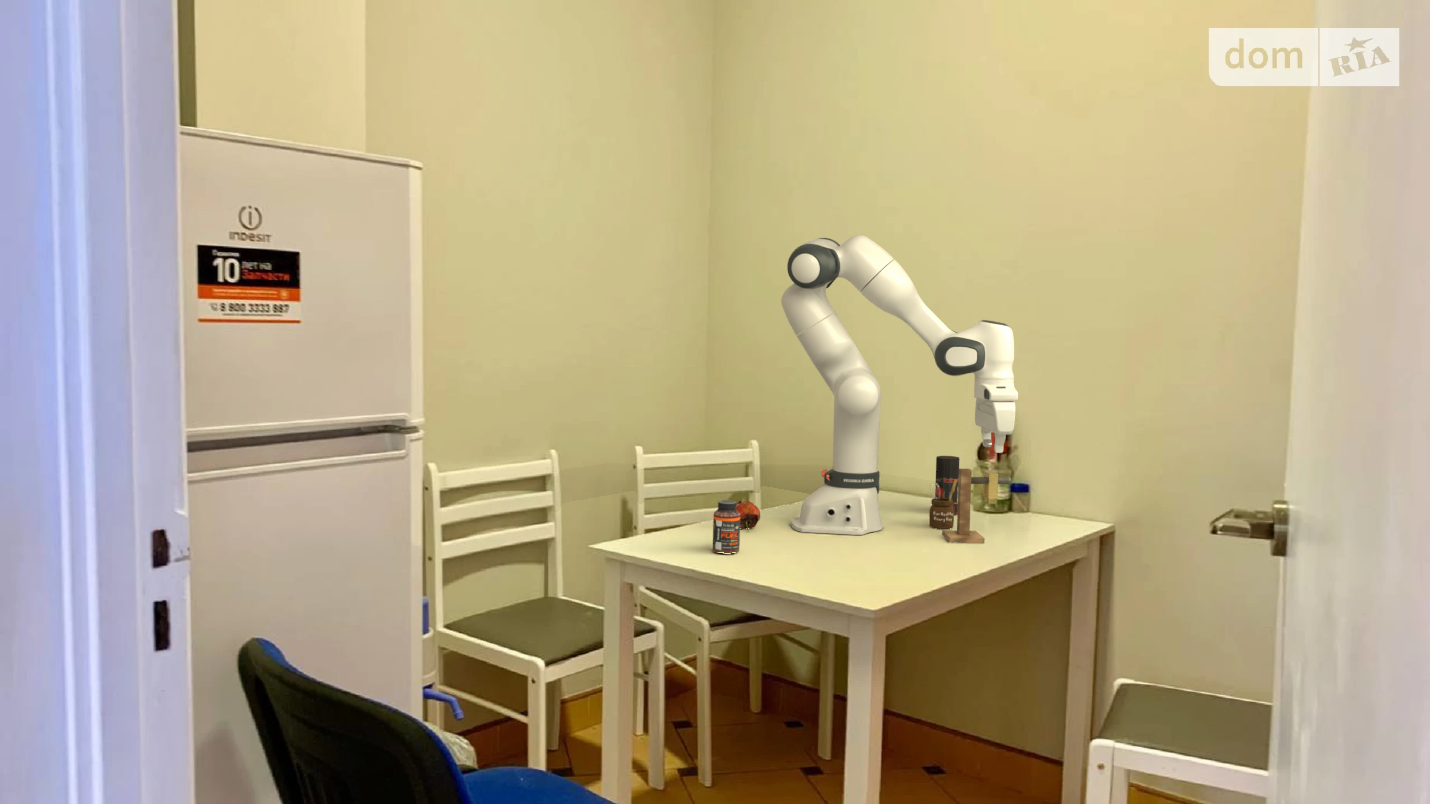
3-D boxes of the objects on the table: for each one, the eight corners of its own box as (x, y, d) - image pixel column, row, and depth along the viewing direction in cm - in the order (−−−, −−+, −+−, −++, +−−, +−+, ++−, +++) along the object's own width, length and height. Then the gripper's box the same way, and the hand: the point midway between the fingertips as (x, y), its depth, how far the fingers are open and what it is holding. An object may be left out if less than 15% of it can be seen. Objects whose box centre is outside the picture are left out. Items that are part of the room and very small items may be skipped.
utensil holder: (926, 524, 257) (928, 477, 256) (951, 524, 257) (953, 477, 256) (931, 529, 251) (933, 481, 250) (957, 530, 251) (959, 481, 250)
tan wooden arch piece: (988, 503, 238) (989, 473, 237) (982, 499, 243) (983, 470, 242) (996, 503, 238) (998, 474, 237) (991, 499, 243) (992, 470, 242)
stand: (949, 542, 237) (952, 471, 236) (942, 535, 245) (944, 466, 243) (1012, 543, 237) (1015, 472, 236) (1002, 535, 245) (1005, 467, 244)
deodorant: (959, 516, 268) (961, 459, 267) (937, 515, 268) (938, 458, 267) (954, 511, 274) (956, 455, 272) (932, 511, 274) (934, 455, 273)
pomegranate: (763, 540, 247) (758, 509, 255) (762, 520, 242) (757, 489, 250) (732, 543, 247) (728, 512, 254) (731, 524, 242) (727, 492, 249)
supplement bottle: (720, 556, 222) (721, 505, 221) (707, 550, 227) (708, 500, 226) (744, 553, 224) (745, 502, 223) (731, 547, 230) (732, 498, 229)
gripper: (968, 387, 248) (968, 443, 249) (992, 394, 228) (991, 455, 229) (994, 386, 248) (993, 443, 249) (1020, 394, 228) (1019, 455, 229)
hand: (992, 449), depth 239 cm, fingers open, 8 cm apart
